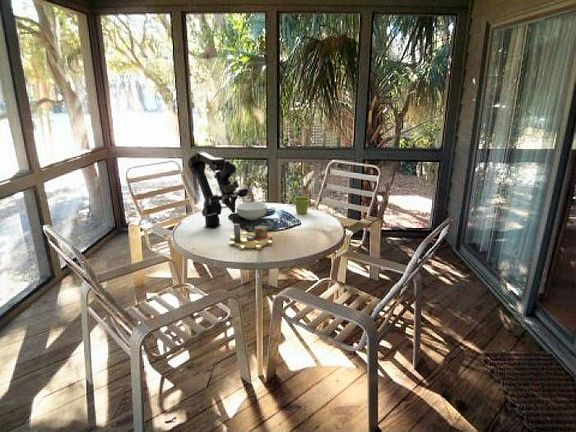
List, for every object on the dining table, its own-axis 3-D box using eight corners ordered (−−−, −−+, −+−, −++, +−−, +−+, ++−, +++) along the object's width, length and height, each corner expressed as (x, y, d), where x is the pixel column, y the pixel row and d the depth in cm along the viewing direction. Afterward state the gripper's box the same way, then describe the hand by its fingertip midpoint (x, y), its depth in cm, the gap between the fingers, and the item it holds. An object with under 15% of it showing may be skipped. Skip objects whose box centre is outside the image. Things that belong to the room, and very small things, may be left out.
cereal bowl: (265, 212, 230) (265, 201, 228) (268, 221, 214) (268, 209, 212) (236, 214, 228) (236, 202, 226) (237, 223, 212) (236, 210, 210)
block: (255, 237, 187) (255, 228, 186) (259, 234, 191) (258, 225, 190) (264, 238, 186) (263, 229, 184) (267, 235, 190) (267, 226, 188)
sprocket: (220, 246, 180) (219, 226, 177) (240, 231, 199) (240, 213, 196) (262, 252, 173) (262, 231, 170) (279, 236, 192) (279, 217, 189)
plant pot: (310, 215, 224) (310, 201, 222) (293, 215, 224) (293, 201, 222) (309, 210, 233) (309, 196, 230) (293, 210, 233) (293, 196, 231)
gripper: (207, 181, 177) (217, 213, 174) (245, 172, 183) (256, 202, 181) (204, 189, 187) (214, 219, 184) (241, 180, 194) (251, 209, 191)
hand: (234, 212), depth 185 cm, fingers closed
